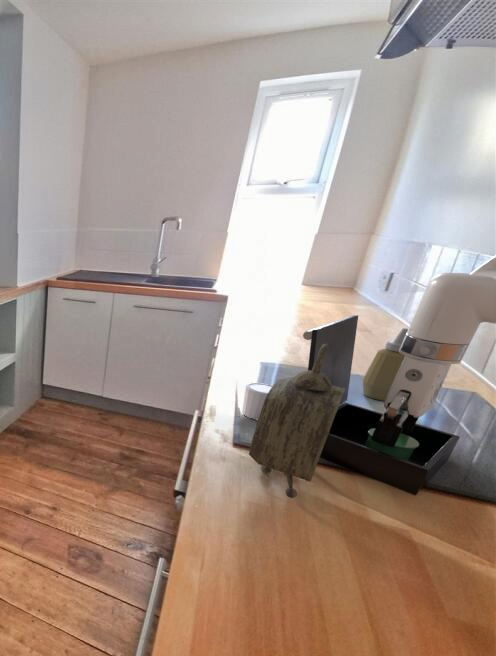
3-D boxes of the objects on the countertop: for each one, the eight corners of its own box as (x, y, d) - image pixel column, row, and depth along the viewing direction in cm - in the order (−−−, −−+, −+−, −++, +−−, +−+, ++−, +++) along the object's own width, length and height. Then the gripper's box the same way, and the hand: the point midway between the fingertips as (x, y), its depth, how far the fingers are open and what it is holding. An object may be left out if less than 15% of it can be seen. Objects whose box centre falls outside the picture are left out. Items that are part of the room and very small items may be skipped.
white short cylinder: (232, 412, 98) (239, 385, 95) (250, 406, 101) (257, 380, 98) (261, 424, 92) (269, 396, 89) (279, 418, 95) (288, 390, 92)
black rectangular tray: (446, 462, 78) (460, 436, 76) (413, 499, 69) (428, 470, 66) (335, 425, 92) (344, 402, 90) (294, 451, 82) (303, 425, 80)
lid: (358, 315, 84) (329, 314, 88) (317, 329, 75) (287, 328, 79) (347, 400, 89) (320, 396, 93) (306, 424, 79) (278, 418, 83)
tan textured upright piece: (300, 507, 67) (354, 363, 57) (238, 484, 73) (277, 349, 63) (314, 469, 76) (363, 340, 66) (259, 451, 82) (295, 330, 72)
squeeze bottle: (349, 392, 108) (375, 325, 101) (371, 388, 110) (397, 323, 103) (385, 405, 101) (415, 334, 94) (407, 401, 103) (438, 331, 96)
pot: (414, 461, 77) (424, 440, 76) (401, 473, 74) (412, 451, 72) (367, 444, 83) (375, 424, 81) (353, 455, 79) (362, 434, 78)
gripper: (449, 364, 63) (402, 459, 69) (476, 346, 71) (432, 432, 78) (385, 351, 68) (348, 439, 75) (417, 335, 77) (381, 416, 84)
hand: (391, 436), depth 77 cm, fingers open, 9 cm apart
